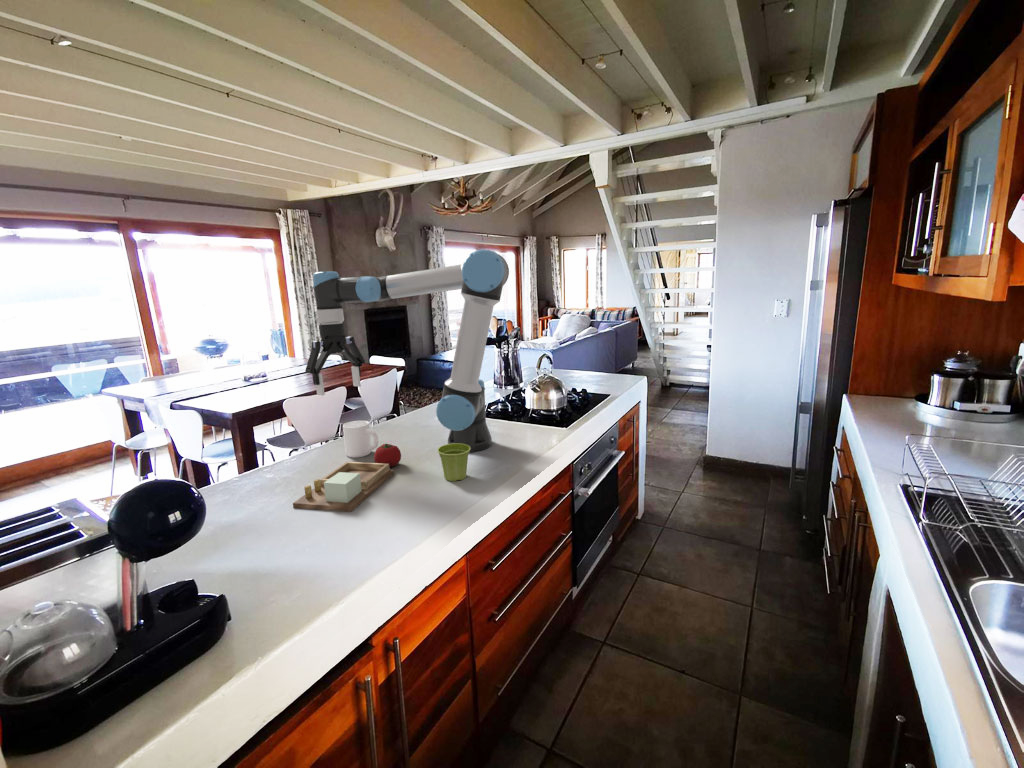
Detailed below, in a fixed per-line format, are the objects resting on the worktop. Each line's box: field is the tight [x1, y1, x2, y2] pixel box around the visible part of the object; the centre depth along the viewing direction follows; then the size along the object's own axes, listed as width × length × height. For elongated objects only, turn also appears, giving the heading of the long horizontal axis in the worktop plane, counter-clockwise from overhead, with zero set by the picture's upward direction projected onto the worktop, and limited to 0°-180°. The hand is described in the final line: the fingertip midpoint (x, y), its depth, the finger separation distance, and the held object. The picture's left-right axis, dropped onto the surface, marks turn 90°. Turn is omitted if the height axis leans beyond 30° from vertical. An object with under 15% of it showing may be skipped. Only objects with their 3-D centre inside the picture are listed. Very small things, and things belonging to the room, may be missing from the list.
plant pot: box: [437, 443, 471, 482], centre depth 133 cm, size 9×9×9 cm
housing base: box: [292, 461, 395, 513], centre depth 128 cm, size 16×24×4 cm, turn 169°
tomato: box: [373, 443, 402, 468], centre depth 144 cm, size 8×8×7 cm
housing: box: [324, 472, 362, 503], centre depth 121 cm, size 6×7×5 cm
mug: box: [342, 420, 379, 458], centre depth 155 cm, size 12×8×10 cm
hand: (339, 390), depth 149 cm, fingers open, 13 cm apart
